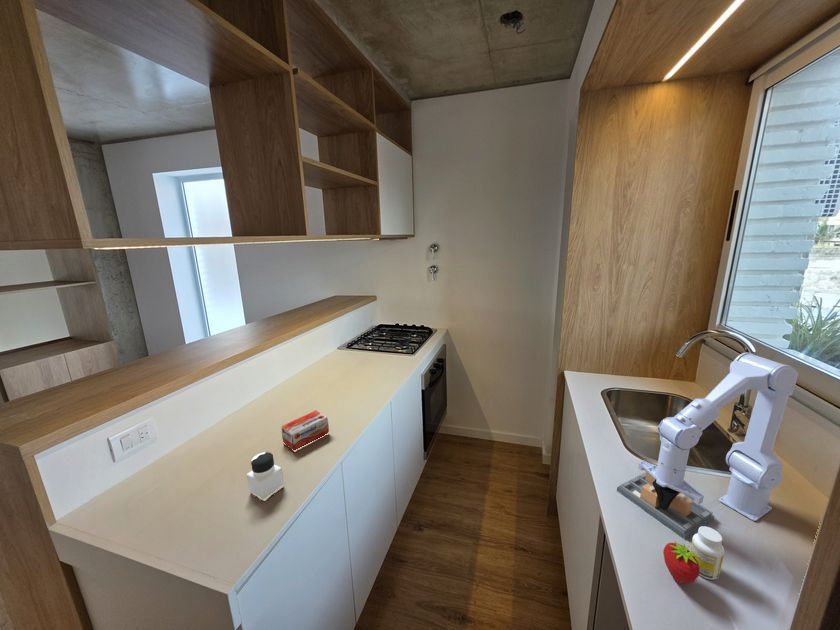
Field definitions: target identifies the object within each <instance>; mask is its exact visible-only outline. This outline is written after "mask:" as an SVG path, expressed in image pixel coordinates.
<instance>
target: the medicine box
mask: <svg viewBox="0 0 840 630" xmlns="http://www.w3.org/2000/svg"><path fill="white" fill-rule="evenodd" d="M328 432H330V427H329V419H328V416H326V415H324V414H323V413H321V412H319V411H318V410H316V409H315V410H313V411H312V412H309V413H307V414H305V415H302V416H301V417H298V418H297V419H294V420H291V421H290V422H287V423H286V424H283V425H281V437H282V442H284V443H285V444H286V445H287V446H289V447H290V448H291V449H293V450H296V449H298V448H300V447H302V446H304V445H306V444H308V443H310V442H312V441H314V440H316V439H318V438H320V437H322V436H324V435H325V434H327V433H328ZM284 443H283V444H284ZM286 445H285V446H286ZM287 446H286V447H287ZM290 448H289V449H290ZM291 449H290V450H291Z"/></svg>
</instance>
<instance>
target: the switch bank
mask: <svg viewBox="0 0 840 630" xmlns="http://www.w3.org/2000/svg"><path fill="white" fill-rule="evenodd" d="M645 477H646V472H644V473H641V474H640V475H637V476H635V477H633V478H631V479H629V480H628V481H625V482H623V483H621V484H619V486H617V488H616V492H618V493H620V495H623V496H624V497H625V498H627V500H629V501H630V502H632V503H633V504H634V505H636V506H638V507H639V508H640V509H642V510H643V511H645V513H647V514H648V515H650V516H652V517H653V518H654V519H655V520H657V521H658V522H659V523H661V524H663V525H664V526H665V527H667V528H668V529H669V530H671V531H672V532H674V533H675V534H677V535H678V536H680V537H681V538H682V539H683V540H686V539H688V538H690V536H691V537H692V536H693V535H695V534H696V533H698V530H699V527H701V526H706V527H707V526H708V525H709V524H710V523H712V522H713V521H714V520H715V515H713V511H712V510H710V509H708V508H706V506H703V504H699V505H697V504H696V503H694V502H693V504H692V509H691V514H690V515H688V516H686V517H685V516H683V515H682V514H680V513H679V512H677V511H676V510H674V509H673V508H671V507H670V506H669V508H667V509H666V510H663V509H662V508H660V507H657V508H654V507H653V506H651V505H650V504H648V503H647V502H645V501H644V500H643V499H641V498H640V494H641V488H642V486H644V485H646V484H649V485H651V486H653V485H652V484H650V483H649V482H647V481H646V480H645ZM680 494H682V493H680ZM686 497H687V496H686ZM687 498H688V499H690V498H689V497H687ZM690 500H692V499H690ZM692 501H694V500H692Z"/></svg>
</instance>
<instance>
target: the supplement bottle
mask: <svg viewBox="0 0 840 630" xmlns="http://www.w3.org/2000/svg"><path fill="white" fill-rule="evenodd" d="M722 543H723V536H722V535H721V534H720V532H718V531H717V530H715V529H714V528H712V527H710V526H707V525H706V526H701V527H699V530H698V531H697V532H696V533H694V534H693V535H692V540H691V544H690V550H689V551H690V552H692V553H694V554H695V555H697V556H699V557H700V558H699V557H695V556H694V557H695V558H696V560H697V562H698V564H699V572H700V573H699V577H702V578H704V579H707V580H712V581H715V580H717V579H719V577H720V575H721V569H722V566H723V560H724V556H725V548H724V547H723V545H722Z"/></svg>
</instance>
